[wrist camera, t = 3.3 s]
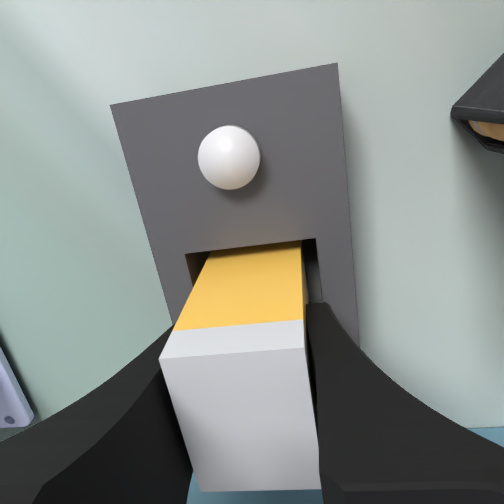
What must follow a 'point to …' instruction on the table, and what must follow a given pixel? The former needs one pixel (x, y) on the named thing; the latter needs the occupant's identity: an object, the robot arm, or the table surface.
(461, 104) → the ammunition clip
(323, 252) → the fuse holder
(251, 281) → the block
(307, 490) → the parts tray
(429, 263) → the table surface
